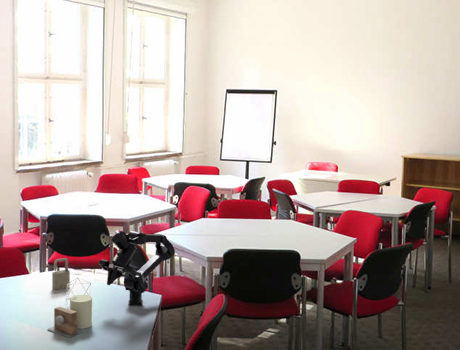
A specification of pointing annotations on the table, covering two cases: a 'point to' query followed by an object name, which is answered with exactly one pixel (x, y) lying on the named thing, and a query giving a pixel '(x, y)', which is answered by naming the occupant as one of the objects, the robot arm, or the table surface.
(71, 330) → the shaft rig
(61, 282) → the padlock
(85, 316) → the can
